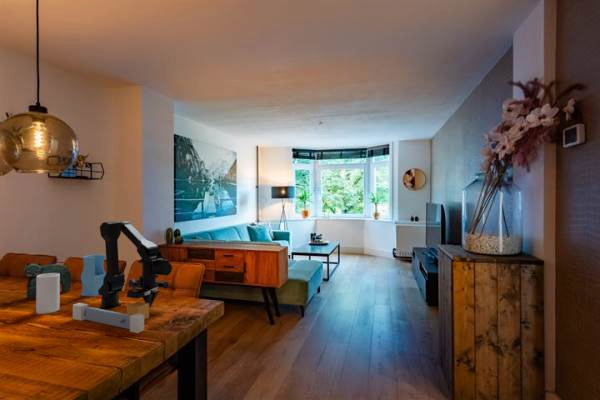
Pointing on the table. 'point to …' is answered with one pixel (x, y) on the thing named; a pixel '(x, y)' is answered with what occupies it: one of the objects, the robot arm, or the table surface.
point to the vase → (92, 274)
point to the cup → (47, 293)
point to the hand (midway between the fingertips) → (148, 308)
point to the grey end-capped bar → (107, 317)
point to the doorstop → (138, 309)
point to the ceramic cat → (36, 270)
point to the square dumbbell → (135, 319)
